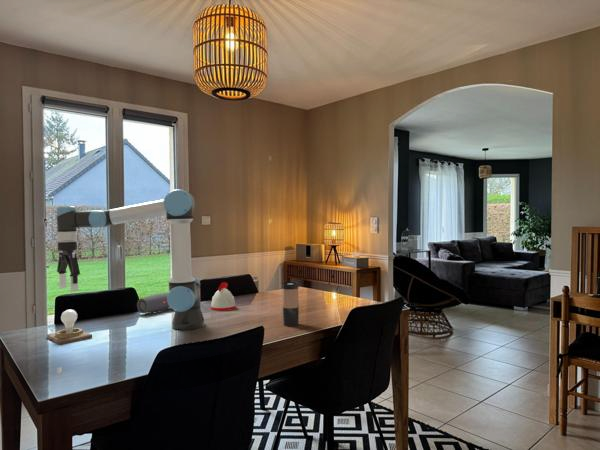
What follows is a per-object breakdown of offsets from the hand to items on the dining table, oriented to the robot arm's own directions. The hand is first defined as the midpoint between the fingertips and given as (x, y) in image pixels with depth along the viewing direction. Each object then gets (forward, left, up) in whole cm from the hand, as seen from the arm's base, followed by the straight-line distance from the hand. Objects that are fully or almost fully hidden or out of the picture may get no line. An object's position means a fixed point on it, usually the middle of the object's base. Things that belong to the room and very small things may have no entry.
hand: (68, 289), depth 186 cm
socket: (0, 0, -21) cm, 21 cm away
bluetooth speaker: (+19, -53, -22) cm, 61 cm away
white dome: (-3, -81, -22) cm, 84 cm away
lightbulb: (0, 0, -20) cm, 20 cm away
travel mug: (-60, -78, -22) cm, 101 cm away
